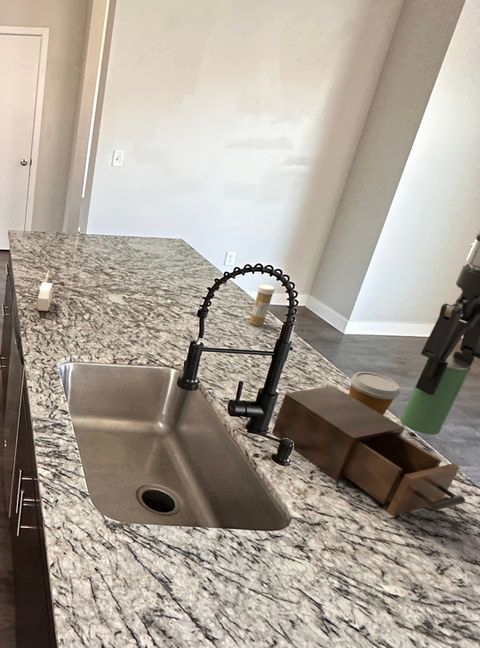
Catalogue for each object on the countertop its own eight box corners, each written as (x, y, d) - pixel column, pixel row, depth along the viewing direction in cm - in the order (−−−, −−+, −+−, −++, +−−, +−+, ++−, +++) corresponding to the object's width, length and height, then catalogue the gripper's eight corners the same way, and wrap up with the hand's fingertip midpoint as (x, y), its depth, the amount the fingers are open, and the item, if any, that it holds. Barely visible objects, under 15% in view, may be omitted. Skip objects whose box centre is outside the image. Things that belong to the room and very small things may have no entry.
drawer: (463, 519, 100) (485, 482, 96) (415, 532, 97) (435, 495, 93) (365, 453, 117) (380, 419, 113) (320, 463, 114) (334, 428, 110)
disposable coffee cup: (389, 427, 128) (408, 384, 123) (371, 440, 123) (391, 396, 118) (346, 408, 135) (363, 367, 130) (328, 419, 130) (344, 377, 125)
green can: (447, 431, 100) (480, 366, 94) (424, 437, 99) (456, 371, 93) (414, 414, 106) (443, 351, 100) (392, 419, 104) (420, 355, 98)
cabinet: (384, 469, 114) (404, 427, 109) (335, 480, 110) (354, 438, 105) (317, 424, 128) (332, 385, 124) (271, 432, 124) (285, 393, 120)
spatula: (57, 285, 213) (47, 284, 214) (59, 265, 210) (49, 264, 211) (48, 314, 178) (36, 313, 179) (51, 291, 175) (38, 290, 176)
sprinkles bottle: (248, 320, 183) (259, 283, 178) (263, 323, 182) (274, 285, 176) (248, 324, 180) (259, 287, 174) (263, 328, 178) (275, 290, 172)
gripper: (505, 258, 95) (451, 371, 105) (429, 265, 89) (379, 385, 99) (558, 271, 88) (495, 391, 98) (480, 281, 83) (421, 406, 93)
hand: (437, 388), depth 99 cm, fingers closed on green can, 6 cm apart
